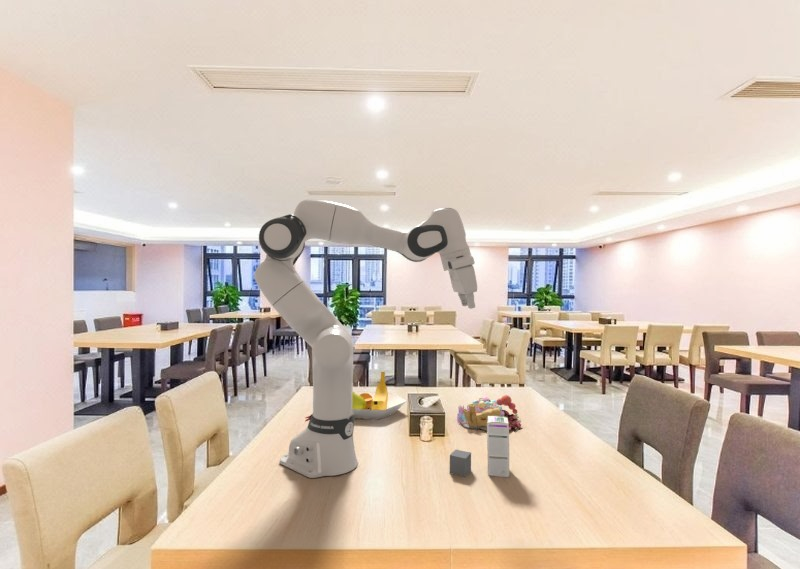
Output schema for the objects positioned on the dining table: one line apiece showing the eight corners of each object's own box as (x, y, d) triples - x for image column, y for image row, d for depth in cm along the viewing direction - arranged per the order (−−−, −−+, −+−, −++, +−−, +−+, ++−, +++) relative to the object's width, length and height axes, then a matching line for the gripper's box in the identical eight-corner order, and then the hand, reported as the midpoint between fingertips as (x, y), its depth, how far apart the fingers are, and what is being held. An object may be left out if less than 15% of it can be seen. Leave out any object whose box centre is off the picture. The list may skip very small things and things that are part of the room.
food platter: (525, 436, 140) (525, 409, 140) (456, 431, 144) (456, 405, 144) (517, 414, 164) (517, 391, 164) (458, 410, 168) (458, 388, 169)
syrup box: (509, 477, 108) (510, 423, 108) (487, 475, 109) (487, 421, 109) (508, 468, 113) (508, 416, 114) (486, 466, 115) (487, 415, 115)
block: (449, 473, 110) (449, 455, 110) (455, 467, 114) (455, 449, 114) (465, 477, 108) (465, 458, 108) (471, 470, 112) (471, 452, 112)
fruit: (328, 406, 173) (329, 372, 173) (385, 399, 184) (385, 367, 184) (350, 428, 146) (351, 388, 146) (415, 419, 157) (415, 381, 157)
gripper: (441, 265, 130) (452, 307, 131) (452, 263, 110) (465, 312, 110) (460, 260, 131) (471, 302, 131) (474, 257, 110) (487, 306, 111)
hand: (468, 306), depth 121 cm, fingers open, 8 cm apart
